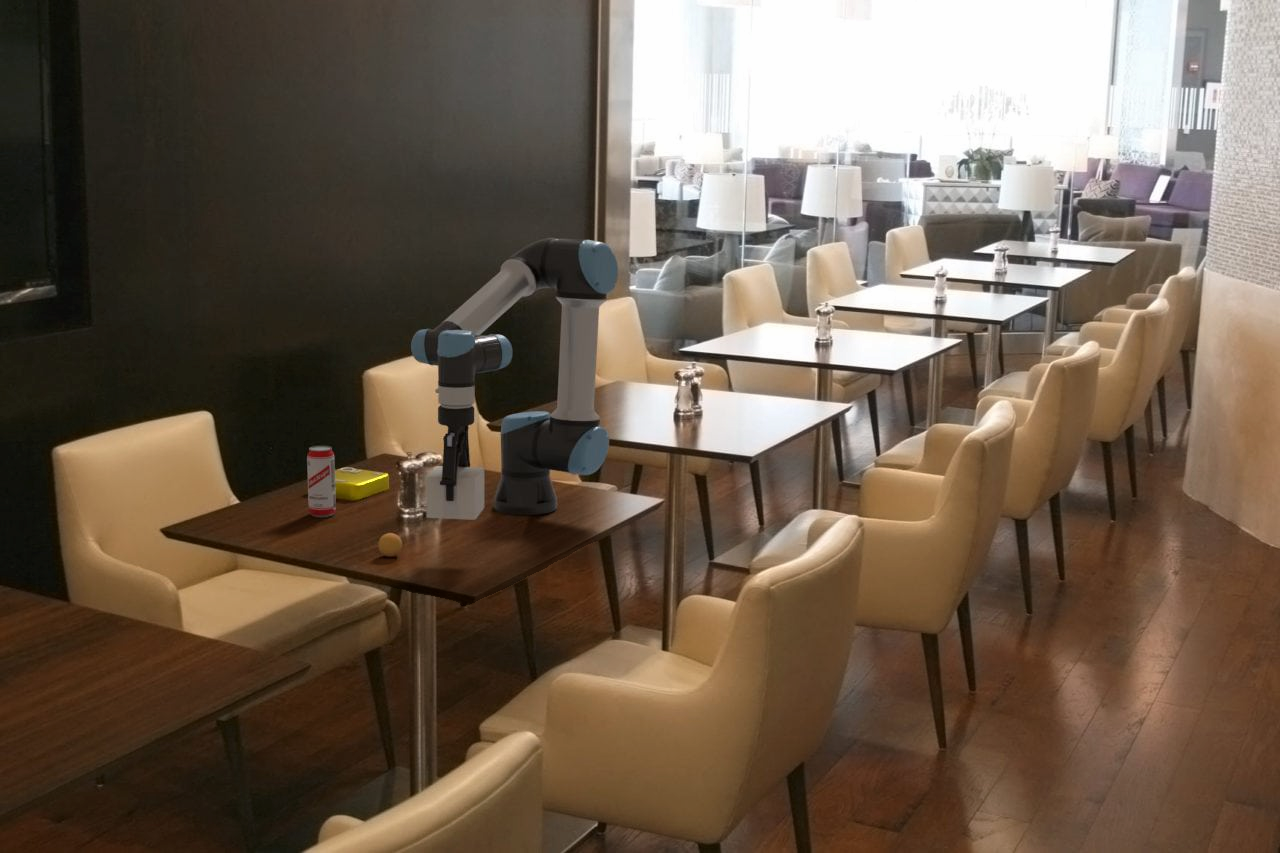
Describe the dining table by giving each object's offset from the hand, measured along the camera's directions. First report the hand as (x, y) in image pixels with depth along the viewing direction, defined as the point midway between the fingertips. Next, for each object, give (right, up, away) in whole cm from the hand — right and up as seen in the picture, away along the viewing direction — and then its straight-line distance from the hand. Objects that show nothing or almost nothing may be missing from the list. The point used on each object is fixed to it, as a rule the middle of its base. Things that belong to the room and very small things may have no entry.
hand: (456, 509), depth 315 cm
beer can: (-36, -3, +36) cm, 51 cm away
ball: (-14, -8, +3) cm, 17 cm away
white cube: (0, -1, 0) cm, 1 cm away
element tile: (-34, +1, +59) cm, 68 cm away
